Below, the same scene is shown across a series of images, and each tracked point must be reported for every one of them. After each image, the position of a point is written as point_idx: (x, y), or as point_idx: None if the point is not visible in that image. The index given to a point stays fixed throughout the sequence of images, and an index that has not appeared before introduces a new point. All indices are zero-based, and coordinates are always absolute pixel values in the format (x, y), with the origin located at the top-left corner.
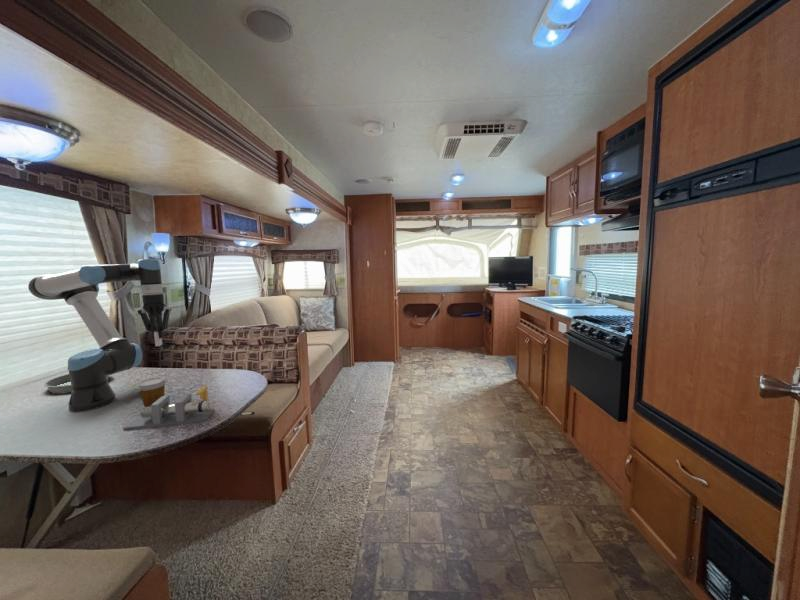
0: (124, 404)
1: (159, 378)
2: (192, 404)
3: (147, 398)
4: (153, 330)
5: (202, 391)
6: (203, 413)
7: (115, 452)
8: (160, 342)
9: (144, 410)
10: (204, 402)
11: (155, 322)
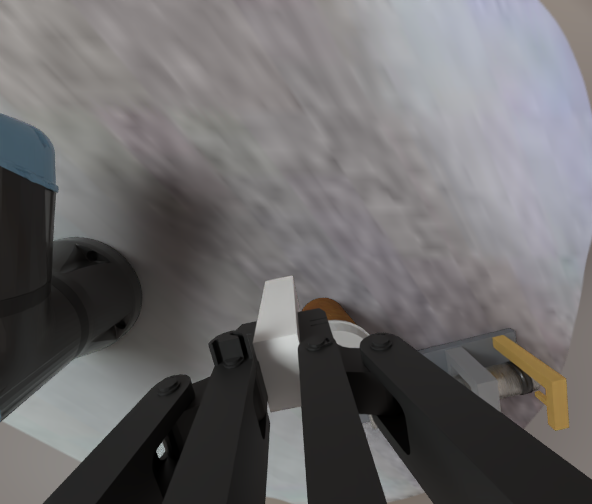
0: (197, 294)
1: (340, 333)
2: (505, 397)
3: None
4: (265, 425)
5: (565, 412)
6: (499, 358)
7: (393, 492)
8: (298, 308)
9: None
10: (538, 388)
11: (240, 467)
